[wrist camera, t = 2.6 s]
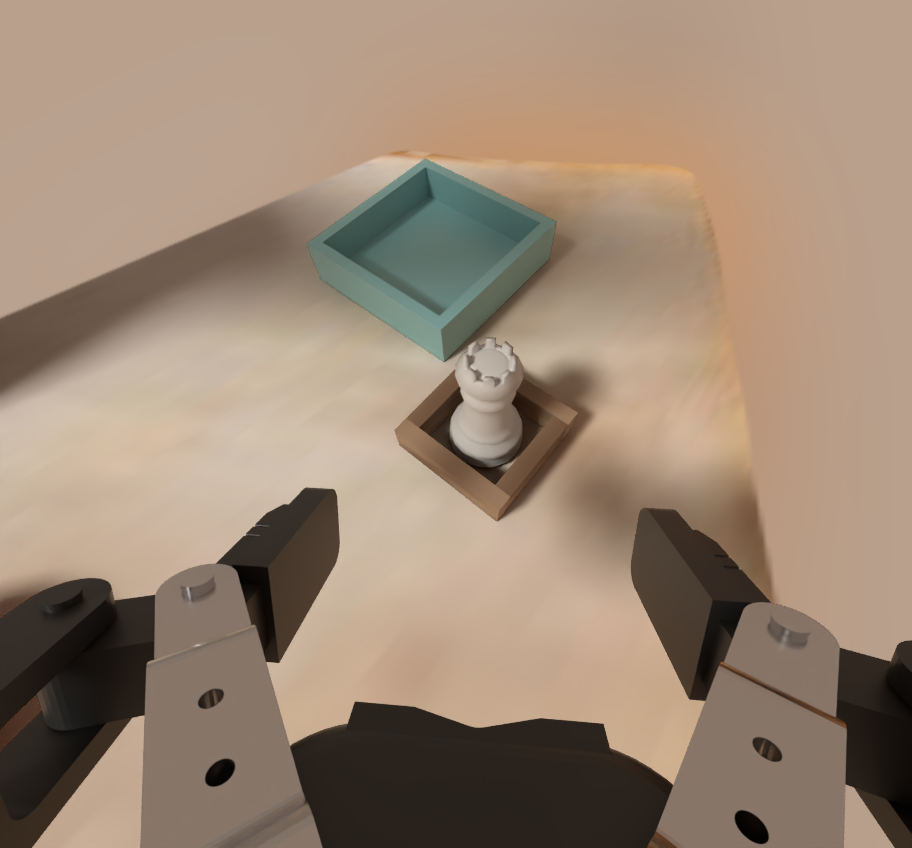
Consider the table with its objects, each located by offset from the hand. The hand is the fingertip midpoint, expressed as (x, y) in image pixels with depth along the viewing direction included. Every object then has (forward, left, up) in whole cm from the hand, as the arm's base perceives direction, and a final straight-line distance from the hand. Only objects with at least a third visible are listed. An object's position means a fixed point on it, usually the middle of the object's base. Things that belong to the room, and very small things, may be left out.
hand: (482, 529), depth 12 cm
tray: (-17, +16, -13) cm, 27 cm away
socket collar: (-5, +7, -13) cm, 16 cm away
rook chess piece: (-5, +7, -13) cm, 16 cm away
